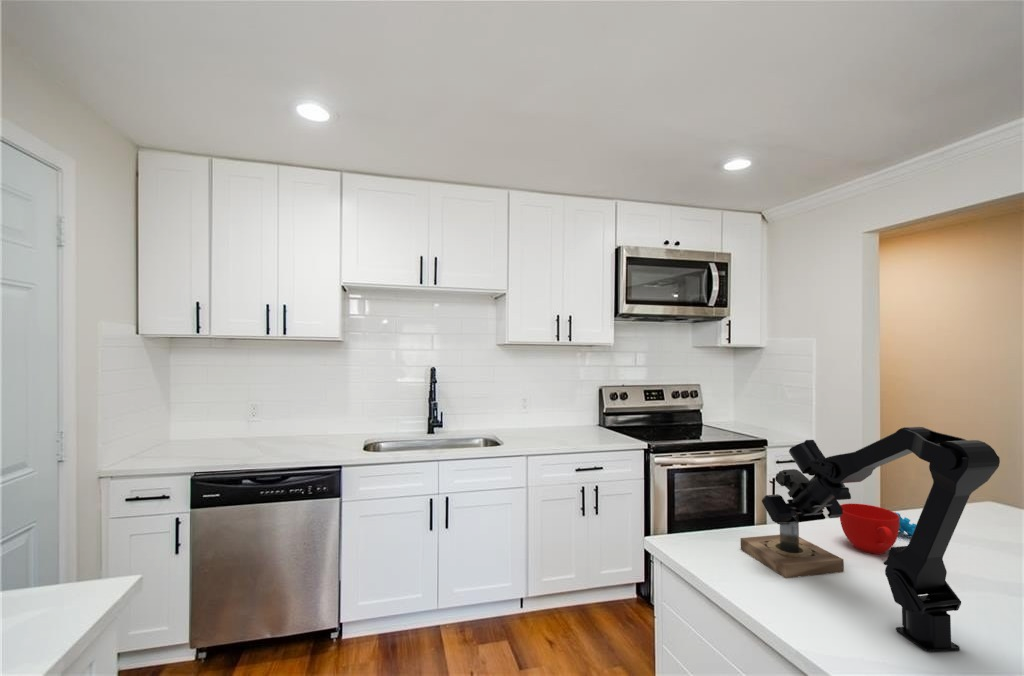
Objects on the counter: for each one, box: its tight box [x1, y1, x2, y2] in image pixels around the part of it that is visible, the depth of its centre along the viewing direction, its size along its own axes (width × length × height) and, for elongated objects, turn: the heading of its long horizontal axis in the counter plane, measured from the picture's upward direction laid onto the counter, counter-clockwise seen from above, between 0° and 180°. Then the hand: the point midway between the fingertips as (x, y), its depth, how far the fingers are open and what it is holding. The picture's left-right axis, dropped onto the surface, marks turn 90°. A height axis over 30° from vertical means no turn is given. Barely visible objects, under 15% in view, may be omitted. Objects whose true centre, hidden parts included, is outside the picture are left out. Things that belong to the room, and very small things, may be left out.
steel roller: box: [779, 513, 800, 553], centre depth 118 cm, size 4×4×10 cm
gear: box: [894, 511, 917, 537], centre depth 133 cm, size 11×6×10 cm
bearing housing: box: [740, 534, 845, 579], centre depth 118 cm, size 16×16×3 cm
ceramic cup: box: [839, 503, 900, 555], centre depth 122 cm, size 13×17×10 cm
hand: (784, 521), depth 120 cm, fingers closed on steel roller, 4 cm apart
